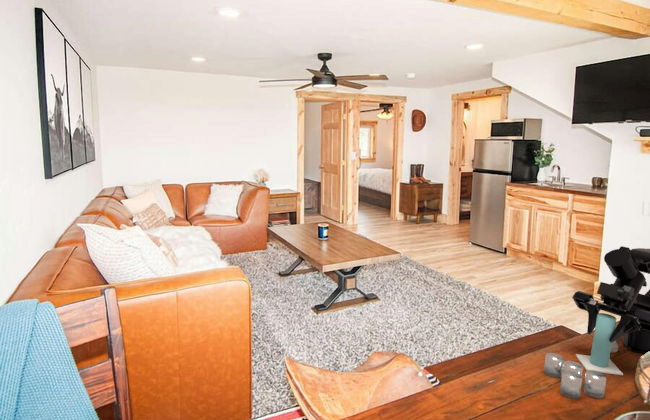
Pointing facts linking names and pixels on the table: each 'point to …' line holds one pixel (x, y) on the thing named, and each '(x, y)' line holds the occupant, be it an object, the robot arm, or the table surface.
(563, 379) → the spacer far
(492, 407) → the table surface
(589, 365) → the grey mat
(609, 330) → the teal post
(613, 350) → the rook chess piece
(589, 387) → the block
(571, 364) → the spacer
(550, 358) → the spacer
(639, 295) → the robot arm
